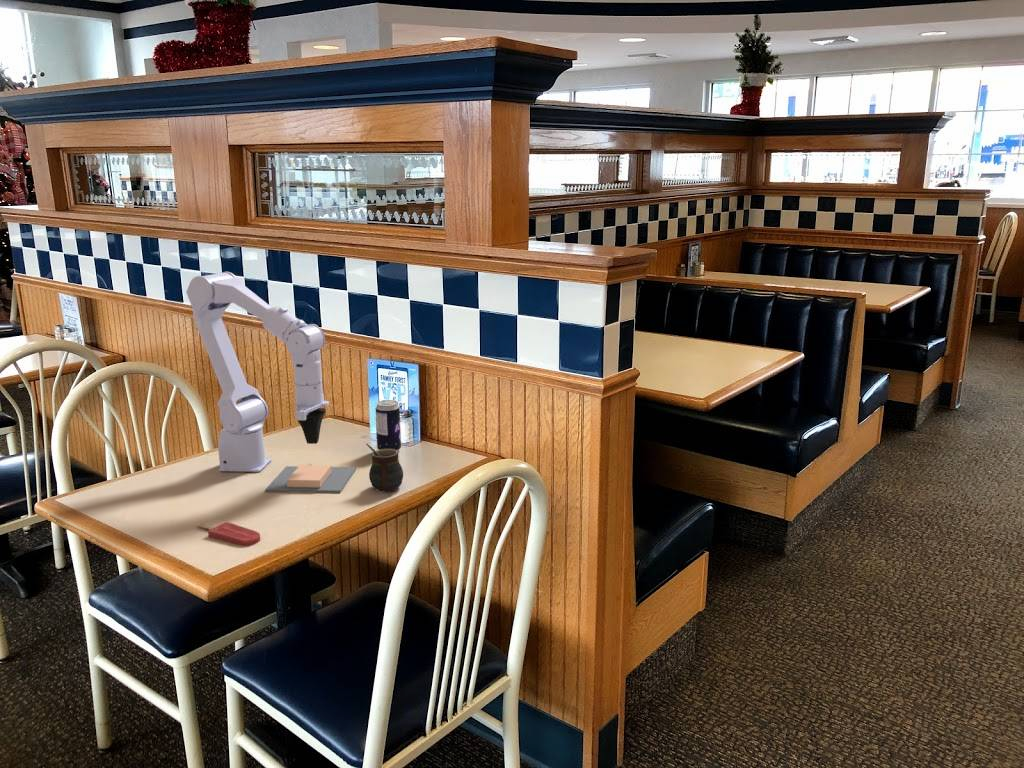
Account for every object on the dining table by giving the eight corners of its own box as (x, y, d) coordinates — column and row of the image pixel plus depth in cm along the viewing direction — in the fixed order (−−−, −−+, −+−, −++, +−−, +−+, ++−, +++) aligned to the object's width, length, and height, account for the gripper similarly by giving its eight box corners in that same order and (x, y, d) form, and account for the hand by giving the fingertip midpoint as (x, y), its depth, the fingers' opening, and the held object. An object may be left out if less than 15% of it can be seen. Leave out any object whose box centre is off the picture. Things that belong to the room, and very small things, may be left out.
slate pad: (265, 491, 172) (265, 489, 172) (286, 468, 186) (286, 466, 185) (340, 492, 171) (340, 490, 171) (356, 469, 185) (356, 467, 185)
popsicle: (207, 515, 157) (265, 532, 150) (208, 524, 157) (266, 541, 150) (188, 524, 153) (246, 542, 146) (189, 533, 153) (247, 550, 146)
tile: (300, 472, 181) (287, 487, 173) (300, 465, 181) (286, 479, 172) (331, 473, 181) (320, 488, 172) (331, 465, 180) (319, 480, 172)
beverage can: (399, 454, 194) (397, 406, 191) (375, 454, 194) (373, 406, 191) (402, 447, 200) (401, 399, 197) (379, 446, 200) (377, 399, 197)
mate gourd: (403, 494, 170) (400, 448, 168) (366, 495, 170) (363, 450, 167) (405, 481, 177) (403, 437, 175) (370, 482, 177) (367, 438, 174)
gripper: (317, 391, 168) (321, 453, 171) (335, 374, 182) (339, 432, 185) (283, 390, 168) (288, 453, 171) (304, 374, 182) (308, 432, 185)
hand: (312, 442), depth 178 cm, fingers closed
